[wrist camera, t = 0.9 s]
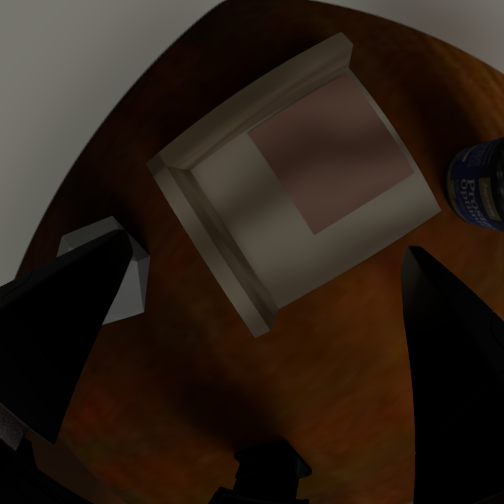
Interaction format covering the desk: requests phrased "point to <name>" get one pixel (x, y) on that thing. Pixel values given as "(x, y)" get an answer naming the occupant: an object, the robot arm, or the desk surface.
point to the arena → (292, 182)
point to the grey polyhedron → (136, 276)
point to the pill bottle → (478, 184)
